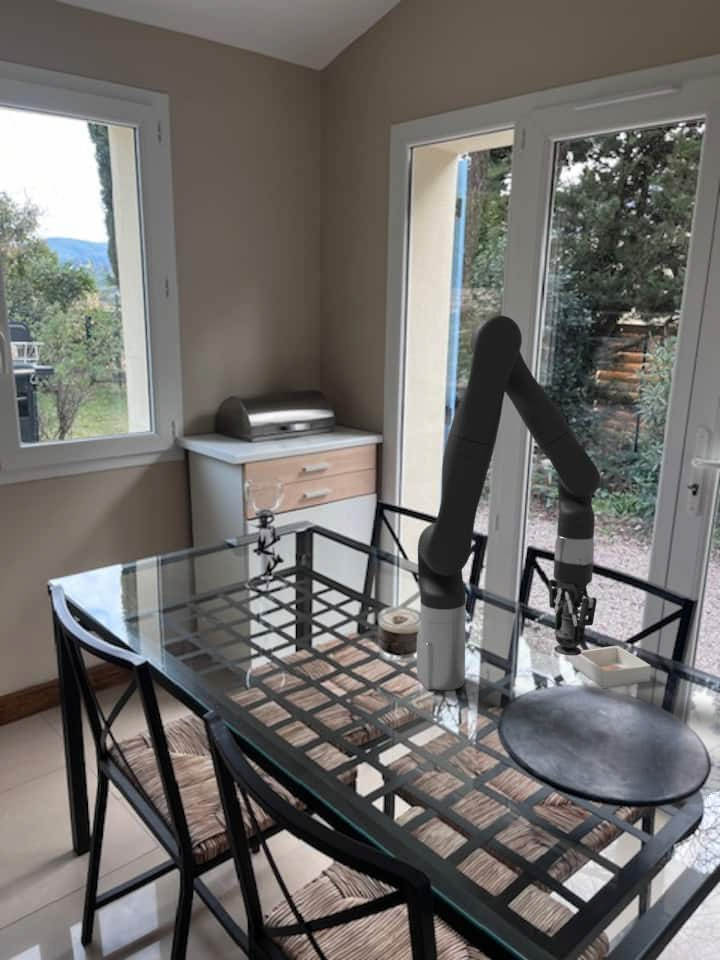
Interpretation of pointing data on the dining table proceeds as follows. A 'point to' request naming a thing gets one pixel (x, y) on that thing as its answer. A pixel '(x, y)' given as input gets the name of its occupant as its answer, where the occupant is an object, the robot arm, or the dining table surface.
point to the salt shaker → (566, 634)
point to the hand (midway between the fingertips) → (568, 636)
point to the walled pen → (612, 667)
